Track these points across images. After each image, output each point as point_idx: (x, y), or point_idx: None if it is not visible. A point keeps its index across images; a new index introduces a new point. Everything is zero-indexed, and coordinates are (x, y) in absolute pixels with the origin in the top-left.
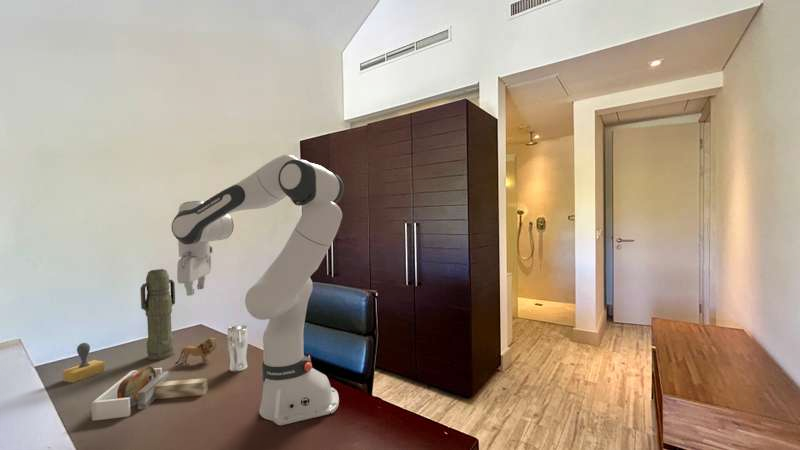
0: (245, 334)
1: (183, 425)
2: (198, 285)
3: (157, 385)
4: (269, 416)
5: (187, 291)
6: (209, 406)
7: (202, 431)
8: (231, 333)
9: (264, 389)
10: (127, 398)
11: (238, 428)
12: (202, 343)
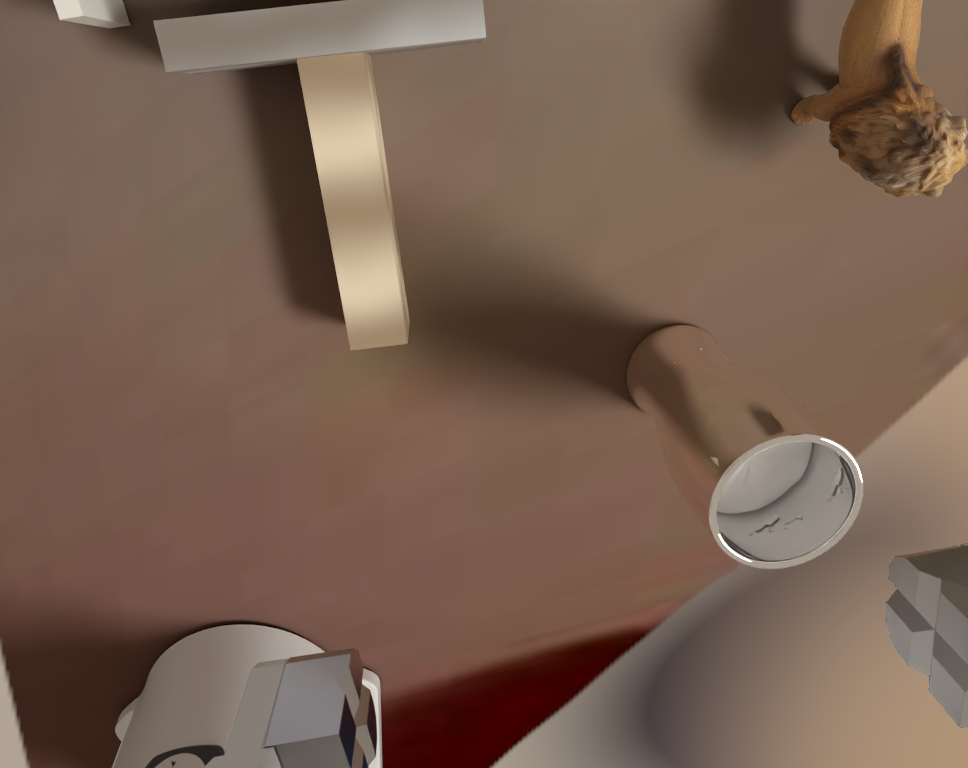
0: (731, 540)
1: (73, 378)
2: (948, 634)
3: (311, 68)
4: (144, 690)
5: (241, 739)
6: (241, 412)
7: (43, 478)
8: (705, 479)
9: (154, 738)
10: (64, 10)
11: (85, 597)
12: (903, 93)
